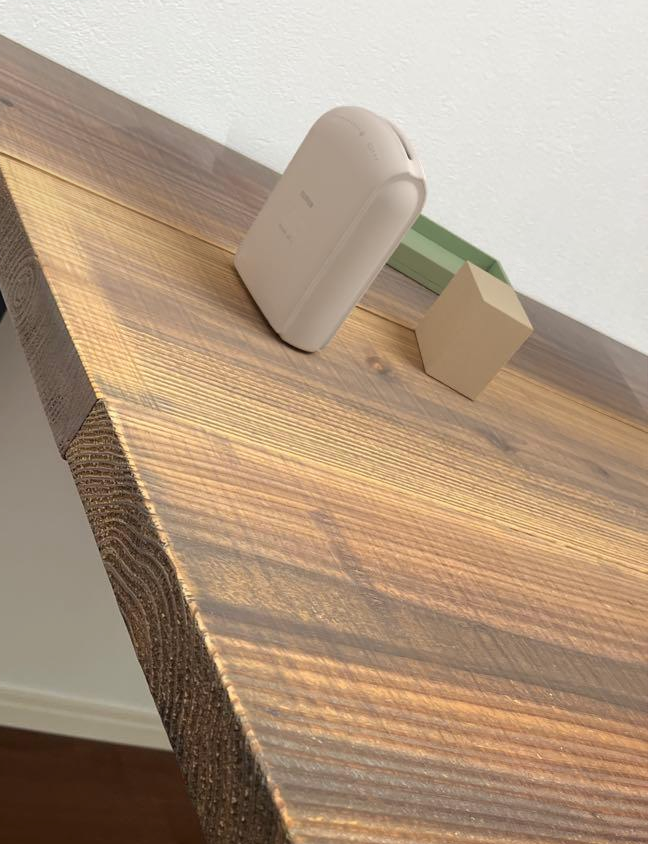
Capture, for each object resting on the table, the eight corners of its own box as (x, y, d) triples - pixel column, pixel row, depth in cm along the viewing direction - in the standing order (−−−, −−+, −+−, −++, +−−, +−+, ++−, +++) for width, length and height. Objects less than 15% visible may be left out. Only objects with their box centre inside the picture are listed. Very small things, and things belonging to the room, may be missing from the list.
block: (458, 354, 77) (512, 287, 74) (474, 401, 70) (534, 330, 67) (413, 328, 76) (466, 259, 73) (425, 373, 70) (483, 299, 67)
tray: (485, 279, 101) (499, 261, 100) (512, 338, 89) (529, 318, 87) (364, 206, 99) (378, 187, 98) (375, 257, 87) (390, 235, 85)
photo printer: (221, 255, 67) (331, 75, 61) (273, 277, 69) (385, 105, 63) (271, 342, 60) (401, 148, 53) (327, 363, 62) (460, 179, 55)
